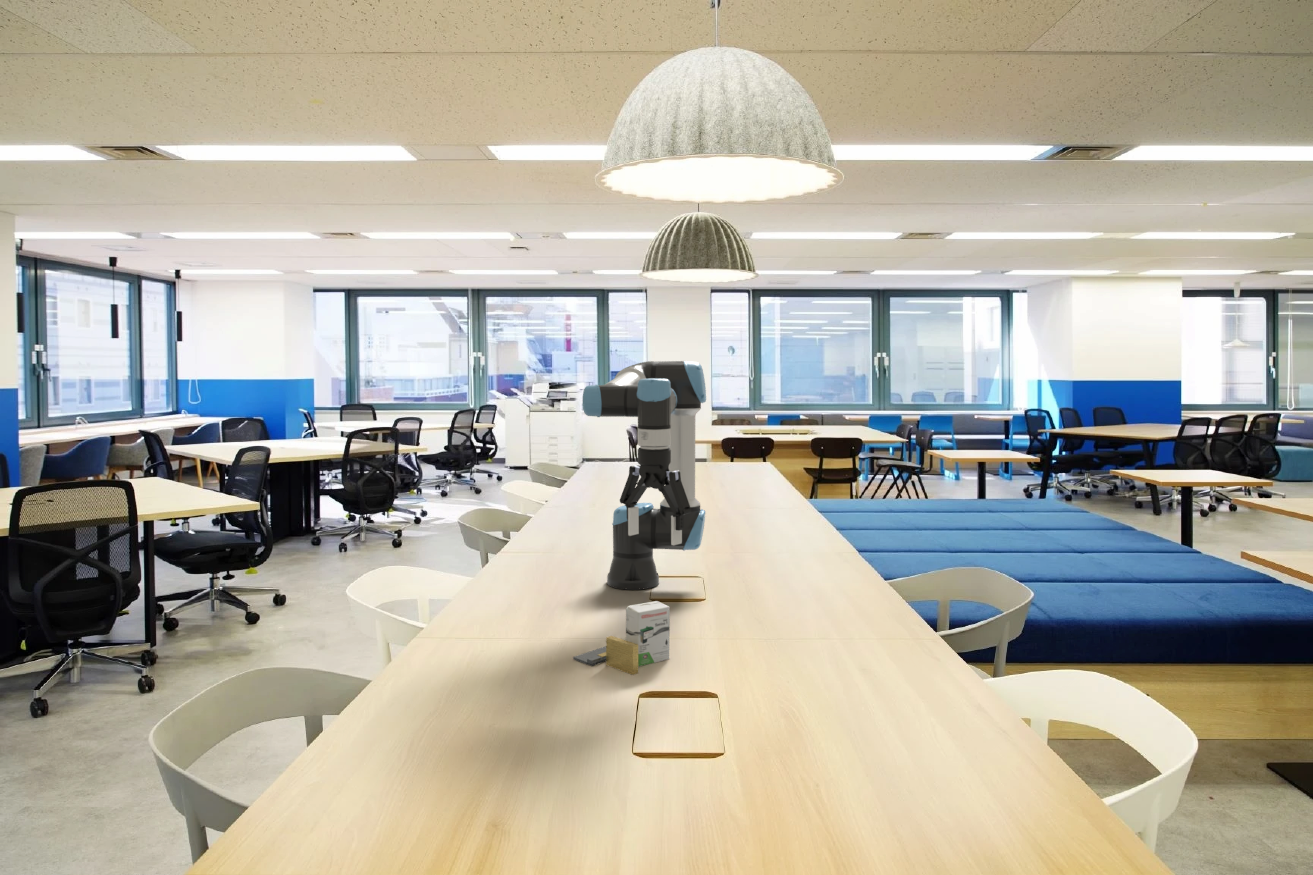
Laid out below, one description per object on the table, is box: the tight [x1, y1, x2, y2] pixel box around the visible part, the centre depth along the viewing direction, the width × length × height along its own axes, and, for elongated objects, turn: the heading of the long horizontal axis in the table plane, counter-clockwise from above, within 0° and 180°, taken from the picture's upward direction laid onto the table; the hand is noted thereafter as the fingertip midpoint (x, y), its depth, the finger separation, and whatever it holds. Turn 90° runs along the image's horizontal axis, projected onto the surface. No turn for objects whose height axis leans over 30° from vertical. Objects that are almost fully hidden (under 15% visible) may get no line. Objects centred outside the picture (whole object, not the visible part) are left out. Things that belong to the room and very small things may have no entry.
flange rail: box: [572, 635, 639, 676], centre depth 173 cm, size 16×16×6 cm
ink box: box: [625, 600, 671, 667], centre depth 172 cm, size 9×5×12 cm, turn 126°
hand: (654, 539), depth 184 cm, fingers open, 13 cm apart
